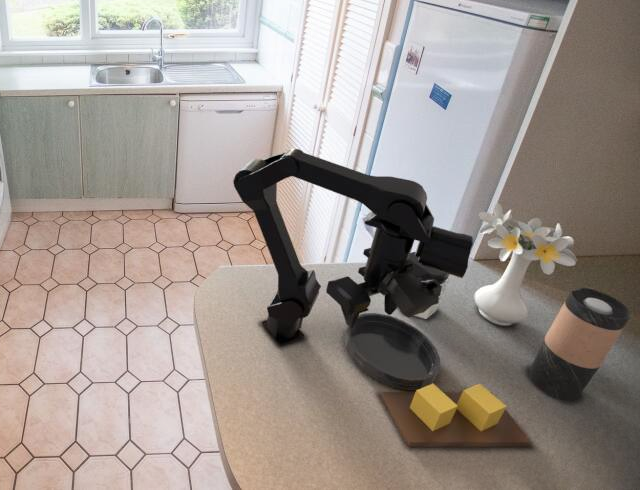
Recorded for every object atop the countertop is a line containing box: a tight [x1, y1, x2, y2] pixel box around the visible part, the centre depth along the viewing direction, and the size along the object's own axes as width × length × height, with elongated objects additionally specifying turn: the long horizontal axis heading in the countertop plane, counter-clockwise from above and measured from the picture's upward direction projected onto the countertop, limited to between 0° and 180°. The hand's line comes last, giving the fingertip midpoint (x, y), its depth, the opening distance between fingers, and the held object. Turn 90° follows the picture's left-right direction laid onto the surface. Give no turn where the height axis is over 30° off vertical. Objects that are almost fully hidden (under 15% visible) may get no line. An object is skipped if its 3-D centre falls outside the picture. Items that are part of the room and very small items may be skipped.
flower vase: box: [473, 202, 579, 327], centre depth 96 cm, size 13×18×25 cm
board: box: [380, 391, 532, 448], centre depth 78 cm, size 20×9×1 cm, turn 90°
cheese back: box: [410, 383, 458, 431], centre depth 77 cm, size 4×4×4 cm
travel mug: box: [528, 287, 631, 401], centre depth 81 cm, size 8×8×20 cm
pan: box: [343, 312, 441, 391], centre depth 90 cm, size 16×16×3 cm
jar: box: [409, 251, 450, 320], centre depth 101 cm, size 9×8×12 cm
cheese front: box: [457, 383, 507, 431], centre depth 77 cm, size 4×4×4 cm
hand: (368, 319), depth 84 cm, fingers open, 9 cm apart
